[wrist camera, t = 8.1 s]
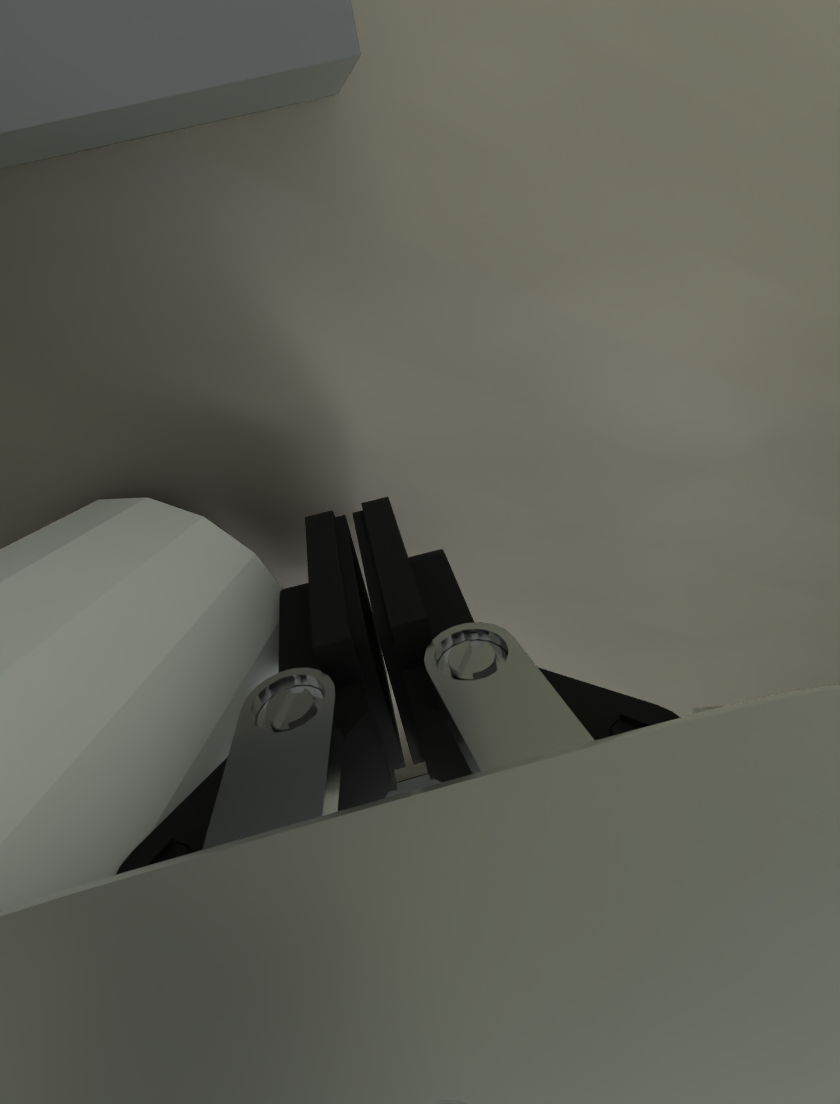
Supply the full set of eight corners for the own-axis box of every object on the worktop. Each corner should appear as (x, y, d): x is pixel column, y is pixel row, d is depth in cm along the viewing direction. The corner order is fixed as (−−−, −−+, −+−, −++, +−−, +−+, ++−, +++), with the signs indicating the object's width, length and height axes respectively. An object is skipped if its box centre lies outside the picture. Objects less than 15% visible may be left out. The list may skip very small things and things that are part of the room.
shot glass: (-40, 509, 12) (-602, 810, 7) (228, 419, 10) (-325, 791, 4) (144, 748, 15) (-135, 1102, 9) (389, 730, 13) (206, 1207, 7)
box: (315, -9, 9) (330, -104, 6) (484, 784, 19) (520, 897, 16) (-662, 198, 8) (-1205, 207, 5) (51, 910, 18) (5, 1053, 15)
